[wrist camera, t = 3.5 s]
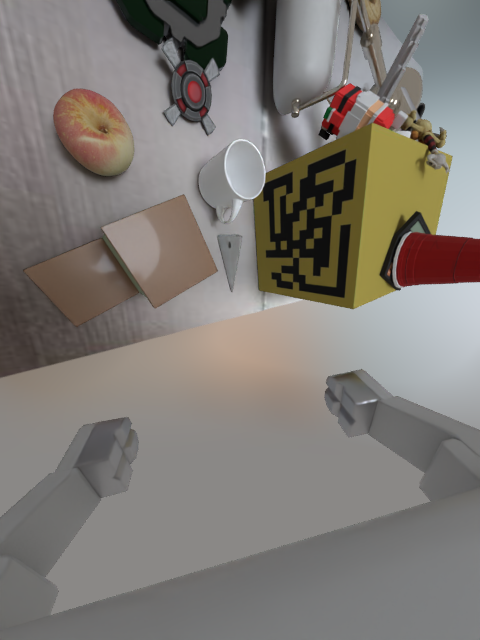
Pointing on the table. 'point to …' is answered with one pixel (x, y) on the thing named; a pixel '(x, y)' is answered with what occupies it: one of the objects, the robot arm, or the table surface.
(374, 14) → the artifact
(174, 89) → the toy
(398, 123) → the figurine
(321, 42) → the lamp
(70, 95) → the apple
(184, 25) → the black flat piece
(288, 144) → the table surface
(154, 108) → the table surface
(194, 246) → the green brown stepped block
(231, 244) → the grey triangular spike
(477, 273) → the plastic cup
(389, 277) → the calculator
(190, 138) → the table surface
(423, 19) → the knife
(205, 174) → the mug
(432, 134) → the decorative dagger
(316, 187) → the decorative box
